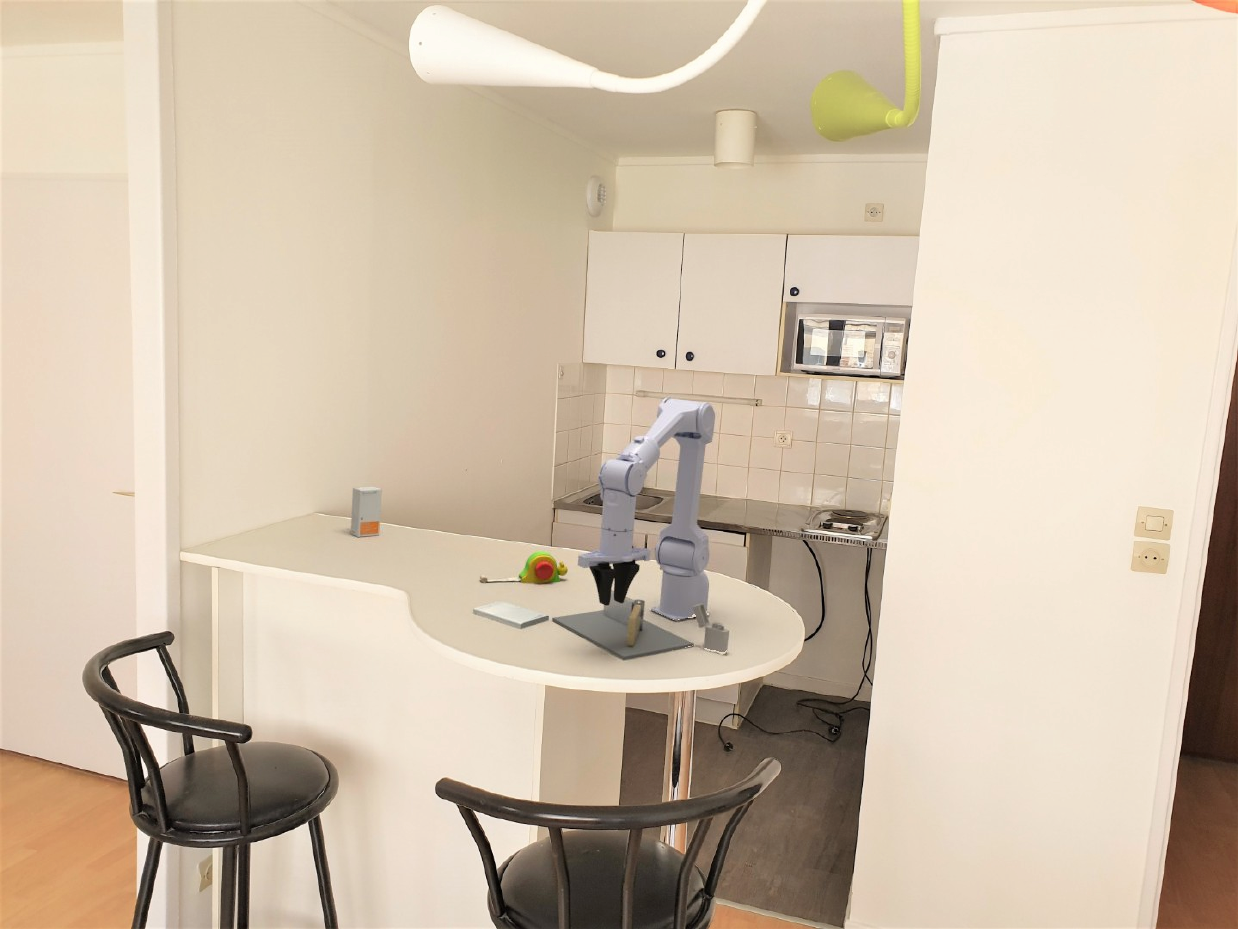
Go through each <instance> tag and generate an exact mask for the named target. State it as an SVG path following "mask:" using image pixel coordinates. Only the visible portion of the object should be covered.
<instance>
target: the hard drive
mask: <svg viewBox="0 0 1238 929" xmlns="http://www.w3.org/2000/svg"><path fill="white" fill-rule="evenodd" d="M472 614H473V615H477V616H479V617H483V618H486V619H489V620H491V621H495V622H498V623H500V624H504V625H506V626H510V627H513V628H516V629H519V630H522V629H525V628H528V627H531V626H532V627H533V626H535V625H538V624H541V623H544V622H547V621H549V620H550V616H549V615H548V614H544V613H541V612H538V611H534V610H532V609H528V608H525V607H521V606H518V605H516V604H513V603H510V602H506V601H502V600H498V601H495V602H491V603H488V604H485V605H480V606H477V607H474V608H473V609H472Z"/></svg>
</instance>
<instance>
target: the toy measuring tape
mask: <svg viewBox="0 0 1238 929" xmlns="http://www.w3.org/2000/svg"><path fill="white" fill-rule="evenodd" d="M558 564H559V565H558ZM558 564H557V561H556V559H555V558H554V557H553V556H552V555H551V554H550V553H549V552H547V551H544V550H543V551H542V550H537V551H535V552H533V553H532V554H530V555H529V557H527V559H526V561H525V565H524V568H523V570H522V571H521V572H519V574H518V577H517V576H514V577H509V578H503V579H488V577H487V576H486V575H485V574H480V576H479V579H480V581H481V582H482V583H483V584H486V582H487V583H490V582H491V583H493V582H502V583H503V582H505V583H506V582H519V581H520V582H521V584H545V583H561V582H560V581H561V578H560V576H561V577H563V576H566V575H567V573H568V566H566V565H565V564H564V562H563V561H559V562H558Z"/></svg>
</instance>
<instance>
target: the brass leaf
mask: <svg viewBox="0 0 1238 929" xmlns="http://www.w3.org/2000/svg"><path fill="white" fill-rule="evenodd" d="M633 600H634V608H633V610H632V613H631V615H630V617H629V625H628V637H627V645H630V646H634V643H635V641H636V638H637V636H638V633H639V630H640V618H641V617H642V616H643V617H644V616H645V604H646V603H645V600H643V599H633Z"/></svg>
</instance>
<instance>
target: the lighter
mask: <svg viewBox="0 0 1238 929" xmlns="http://www.w3.org/2000/svg"><path fill="white" fill-rule="evenodd" d="M693 609H694V612H695V615H696V618H695V619H696V622H697V626H698V628H699V629H700V628H705V629H704V630H705V631H704V639H703V640H704V642H703V649H704V648H707V649H710V650H716V651H719V652H725V651H726V650H727V651H728V646H729V636H730V629H726V628H725V625H724V624H723V623H722V622H718V621H713V622H711V624H710V619H709V617H708V616H709V615H708V616H707V613H706V610H705V606H704V604H703V603H701V604H697V605H694V606H693Z"/></svg>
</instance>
